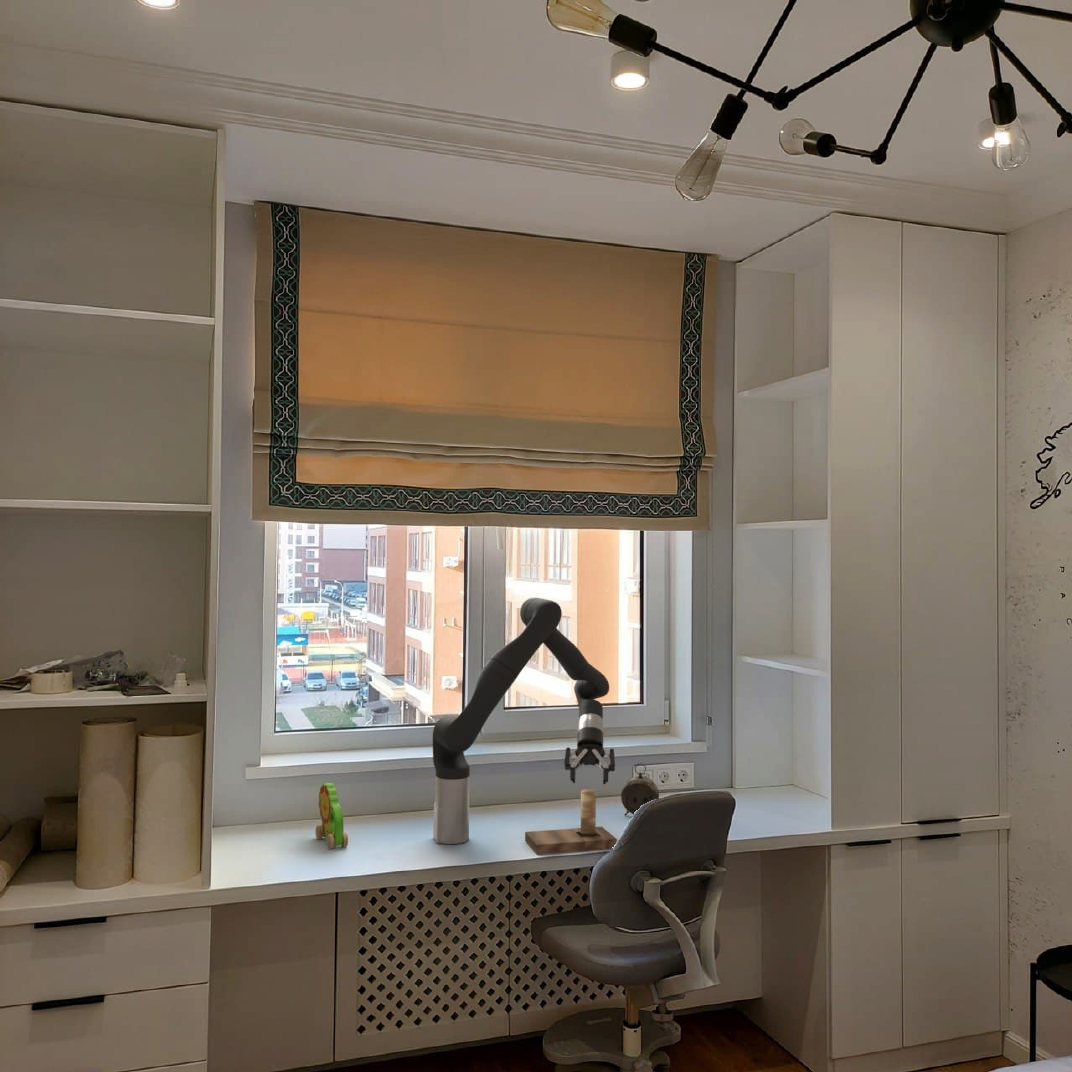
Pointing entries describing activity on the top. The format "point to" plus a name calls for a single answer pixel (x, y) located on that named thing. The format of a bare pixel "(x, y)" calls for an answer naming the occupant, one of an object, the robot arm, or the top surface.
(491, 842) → the top surface
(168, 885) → the top surface
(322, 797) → the toy lion
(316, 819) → the top surface
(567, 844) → the walnut board
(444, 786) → the robot arm
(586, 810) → the oak peg
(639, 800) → the alarm clock
